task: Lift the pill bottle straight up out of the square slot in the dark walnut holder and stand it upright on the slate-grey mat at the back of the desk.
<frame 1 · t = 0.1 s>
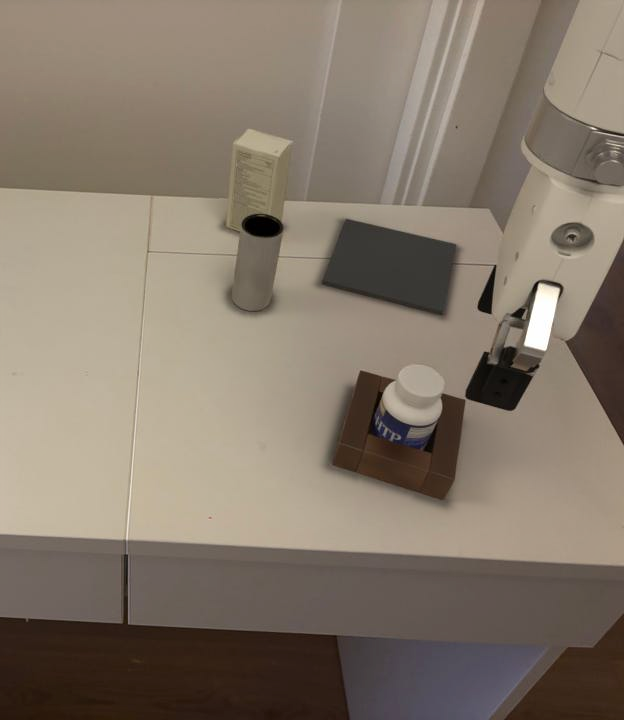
hand: (493, 355, 53), 19 cm above the table, tool pointing down, fingers open, 9 cm apart
pill bottle: (395, 443, 72), resting in holder
grey hollow tube: (250, 300, 87), on the table
mat: (390, 265, 92), on the table
cosmetic box: (251, 228, 97), on the table
holder: (395, 442, 72), on the table
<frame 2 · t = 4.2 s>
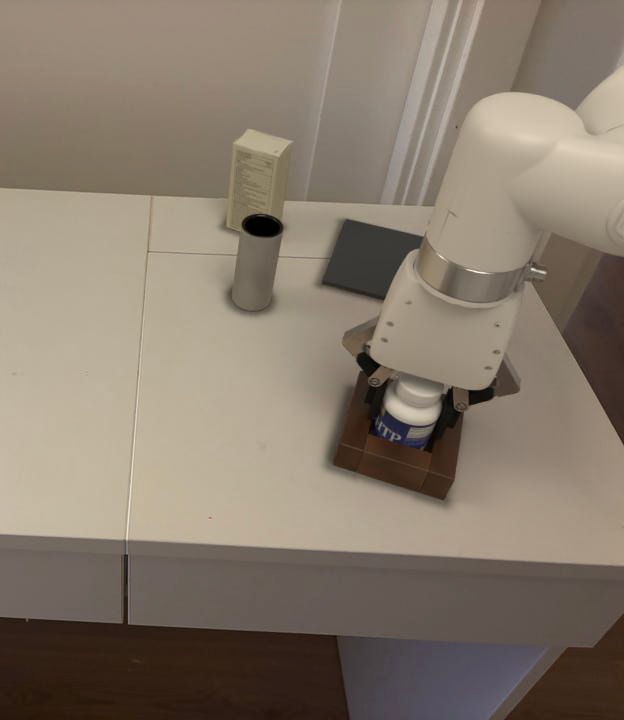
hand: (406, 416, 69), 4 cm above the table, tool pointing down, fingers closed on pill bottle, 5 cm apart
pill bottle: (395, 443, 72), resting in holder, touching gripper
everything else where it was.
when the fingers open (5 cm above the table, at t = 13.3 s): pill bottle stays where it is, resting on mat.
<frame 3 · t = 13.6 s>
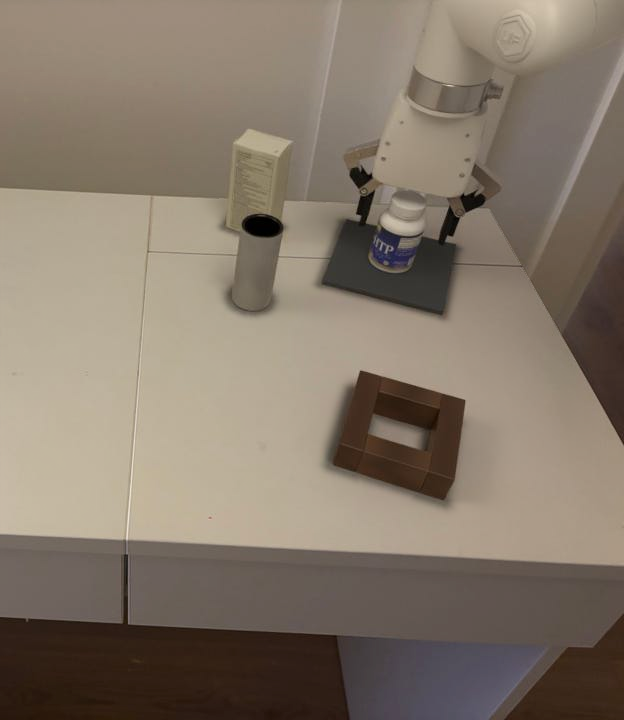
hand: (402, 229, 88), 5 cm above the table, tool pointing down, fingers open, 8 cm apart
pill bottle: (389, 262, 91), resting on mat
everything else where it was.
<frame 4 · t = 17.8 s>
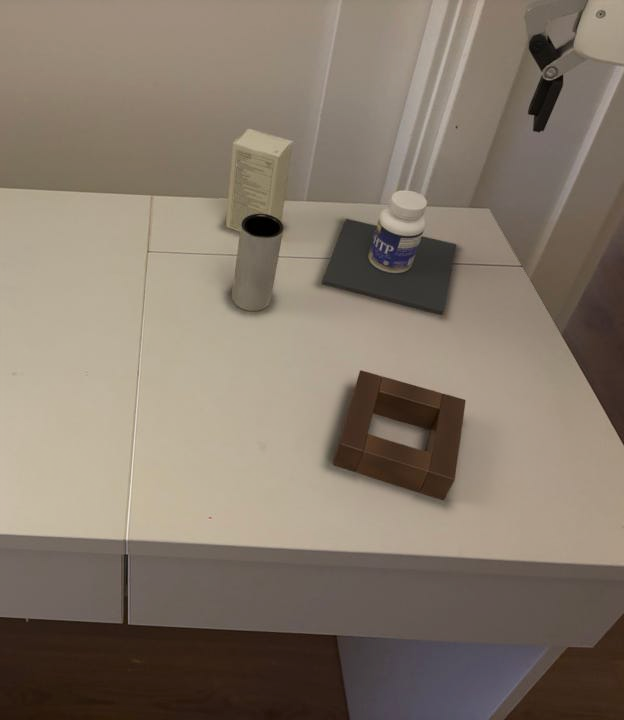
hand: (604, 136, 57), 28 cm above the table, tool pointing down, fingers open, 9 cm apart
nothing on the table moved.
at the end: pill bottle inside the target area on the mat (0.2 cm from its centre), point 0.4 cm above the mat's base; pill bottle tilted 0°; pill bottle moved 28.4 cm from its start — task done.
